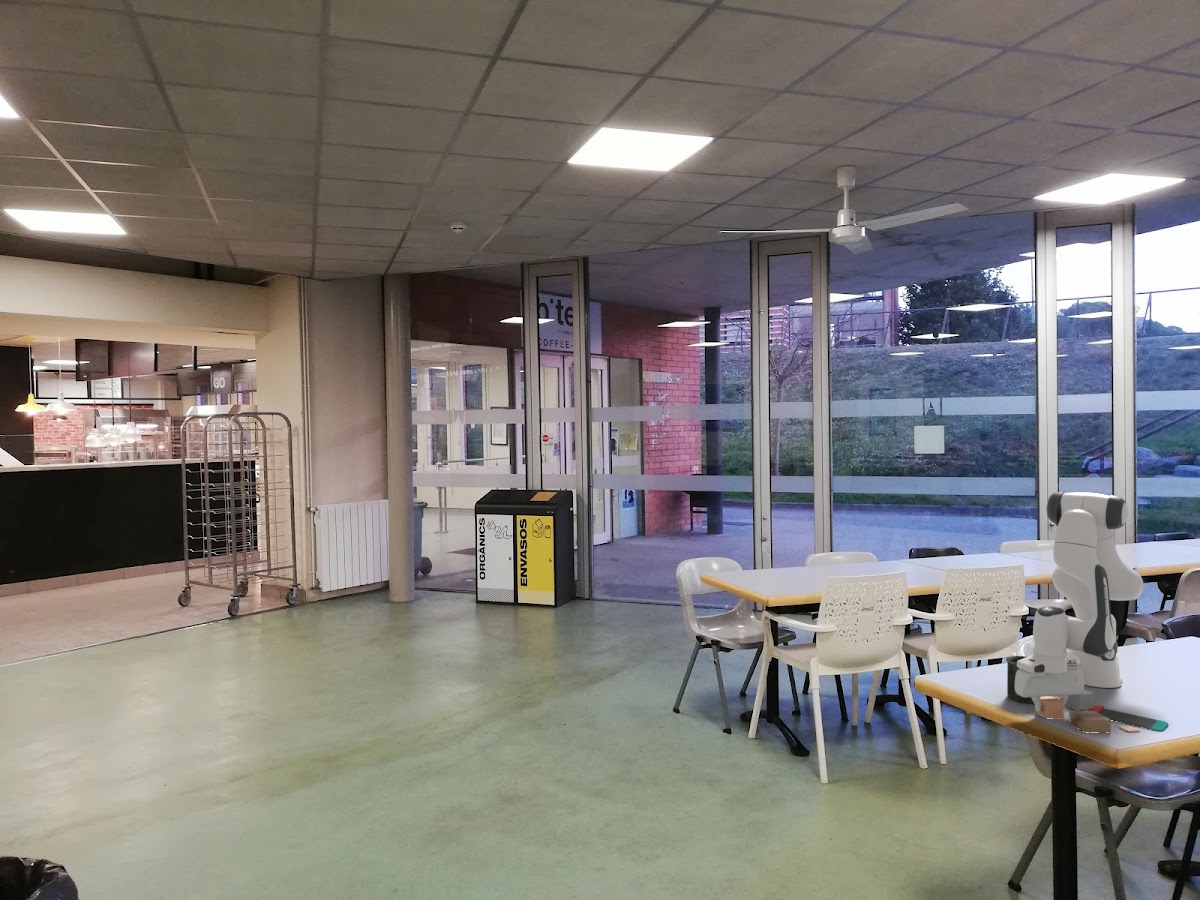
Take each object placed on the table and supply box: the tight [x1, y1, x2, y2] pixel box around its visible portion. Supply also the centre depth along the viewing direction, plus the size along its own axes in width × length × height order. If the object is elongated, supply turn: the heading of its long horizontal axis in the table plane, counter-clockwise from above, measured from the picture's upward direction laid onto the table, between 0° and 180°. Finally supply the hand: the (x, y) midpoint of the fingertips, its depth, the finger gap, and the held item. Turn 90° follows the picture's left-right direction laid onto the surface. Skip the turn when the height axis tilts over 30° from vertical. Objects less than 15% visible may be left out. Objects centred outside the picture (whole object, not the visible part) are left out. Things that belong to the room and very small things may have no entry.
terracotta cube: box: [1035, 696, 1064, 719], centre depth 235 cm, size 5×5×5 cm
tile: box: [1117, 725, 1141, 733], centre depth 223 cm, size 4×4×1 cm
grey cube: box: [1066, 688, 1096, 711], centre depth 242 cm, size 5×5×5 cm
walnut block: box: [1069, 710, 1112, 734], centre depth 224 cm, size 7×7×4 cm
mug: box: [1005, 655, 1034, 704], centre depth 249 cm, size 11×15×12 cm
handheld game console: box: [1087, 704, 1169, 732], centre depth 232 cm, size 19×1×10 cm
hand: (1049, 710), depth 235 cm, fingers open, 5 cm apart
